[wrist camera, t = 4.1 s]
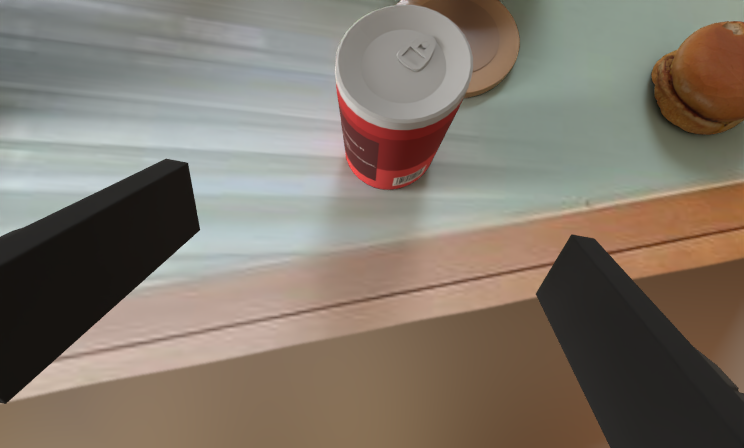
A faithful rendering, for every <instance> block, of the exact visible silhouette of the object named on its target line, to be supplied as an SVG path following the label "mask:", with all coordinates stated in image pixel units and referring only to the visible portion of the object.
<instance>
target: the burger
mask: <svg viewBox="0 0 744 448" xmlns="http://www.w3.org/2000/svg"><path fill="white" fill-rule="evenodd" d="M651 75H652V81H653V83H654V84H655V88H654V89H655V99H656V100H657V104H658V106H659V107H660V109H661V113H662V115H663V116H664V117H665V118H666V119H667V120H669V121H670V122H672V123H673V124H674V125H676V126H678V127H680V128H681V129H683V130H685V131H687V132H690V133H695V134H707V135H710V134H717V133H721V132H724V131H727V130H729V129H731V128H733V127H735V126H736V125H738V124H739V123H741V122H742V121H743V120H744V23H743V22H738V21H733V22H729V21H727V22H720V23H714V24H711V25H708V26H706V27H703V28H700V29H699V30H697V31H696V32H694V33H693V34H692V35H690V36H689V37H688V38H687V39H686V40H685V41H684V42H683V43H682V44H681V46H680V47H679V49H678V50H675V51H673V52H671V53H669V54H667V55H665V56H663V57H662V58H661V59H660V60H659V61H657V63H656V64H655V66H654V68H653V71H652V74H651Z"/></svg>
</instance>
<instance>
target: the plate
mask: <svg viewBox="0 0 744 448" xmlns="http://www.w3.org/2000/svg"><path fill="white" fill-rule="evenodd" d="M396 5H416V6H421V7H426V8H429V9H431V10H434V11H437V12H439V13H440V14H442V15H444V16H446V17H447V18H449V19H450V20H451V21H452V22H453V23H455V24H456V25H457V26H458V27H459V29H460V30H461V31H462V32H463V34H464V35H465V37H466V39H467V41H468V43H469V45H470V48H471V52H472V55H473V72H472V77H471V81H470V83H469V87H468V89H467V92H466V94H465V96H464V98H469V97H473V96H477V95H480V94H483V93H485V92H487V91H489V90H491V89H493V88H494V87H495V86H497V85H498V84H499V83H500V82H501V81H502V80H503V79H504V78H505V77H506V76H507V74H508V73H509V72H510V70H511V69H512V67H513V65H514V63H515V61H516V59H517V56H518V52H519V32H518V29H517V25H516V23H515V21H514V19H513V17H512V15H511V14H510V12H509V11H508V10H507V8H506V7H505V6H504V5H503V4H502V3H501V2H500V1H499V0H400V1H399V2H398V3H397V4H396Z"/></svg>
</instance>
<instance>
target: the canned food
mask: <svg viewBox="0 0 744 448" xmlns="http://www.w3.org/2000/svg"><path fill="white" fill-rule="evenodd" d="M472 72H473V55H472V52H471V48H470V45H469V43H468V41H467V39H466V37H465V35H464V34H463V32H462V31H461V30H460V29H459V27H458V26H457V25H456V24H455V23H453V22H452V21H451V20H450V19H449V18H447V17H446V16H444V15H442V14H440V13H439V12H437V11H434V10H431V9H429V8H426V7H421V6H416V5H393V6H387V7H383V8H380V9H377V10H374V11H372V12H370V13H368V14H366V15H364V16H363V17H361V18H360V19H359V20H357V21H356V22H355V23H354V24H353V25H352V26H351V27H350V28H349V29H348V30H347V31H346V33H345V34H344V36H343V38H342V39H341V41H340V43H339V46H338V49H337V52H336V60H335V78H336V88H337V95H338V102H339V109H340V116H341V124H342V131H343V138H344V145H345V152H346V158H347V161H348V164H349V166H350V168H351V169H352V171H353V173H354V174H355V175H356V176H357V177H358V178H359V179H360V180H362V181H363V182H365V183H366V184H368V185H370V186H372V187H375V188H378V189H383V190H392V189H398V188H402V187H404V186H407V185H409V184H411V183H413V182H414V181H416V180H418V179H419V178H420V177H421V176H422V175H423V174H424V173H425V171H426V170H427V169H428V167H429V165H430V163H431V161H432V160H433V158H434V156H435V154H436V152H437V150H438V148H439V146H440V144H441V142H442V140H443V138H444V136H445V134H446V132H447V130H448V128H449V126H450V125H451V123H452V121H453V119H454V117H455V115H456V113H457V111H458V109H459V107H460V104H461V102H462V100H463V98H464V96H465V94H466V92H467V89H468V87H469V83H470V81H471V77H472Z"/></svg>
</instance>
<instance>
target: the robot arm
mask: <svg viewBox="0 0 744 448" xmlns="http://www.w3.org/2000/svg"><path fill="white" fill-rule="evenodd" d="M199 230H200V227H199V221H198V216H197V210H196V205H195V199H194V194H193V188H192V183H191V177H190V172H189V166H188V163H186V162H180V161H175V160H170V159H165V160H163V161H161V162H158V163H156V164H154V165H152V166H150V167H148V168H146V169H144V170H142V171H140V172H138V173H136V174H134V175H132V176H130V177H127V178H125V179H123V180H121V181H119V182H117V183H115V184H113V185H111V186H109V187H107V188H105V189H103V190H101V191H98V192H96V193H94V194H92V195H90V196H88V197H86V198H84V199H82V200H80V201H78V202H76V203H74V204H72V205H69V206H67V207H65V208H63V209H61V210H59V211H57V212H55V213H53V214H51V215H49V216H47V217H45V218H43V219H40V220H38V221H36V222H34V223H32V224H30V225H28V226H26V227H24V228H21V229H17V230H14V231H12V232H9V233H7V234H5V235H3V236H1V237H0V403H4V404H6V403H7V402H8V401H9V400H11V399H12V398H13V397H14V396H15V395H16V394H17V393H18V392H19V391H21V390H22V389H23V388H24V387H25V386H26V385H27V384H28V383H30V382H31V381H32V380H33V379H34V378H35V377H36V376H37V375H38V374H40V373H41V372H42V371H43V370H44V369H45V368H46V367H47V366H49V365H50V364H51V363H52V362H53V361H54V360H55V359H56V358H57V357H59V356H60V355H61V354H62V353H63V352H64V351H65V350H66V349H68V348H69V347H70V346H71V345H72V344H73V343H74V342H75V341H76V340H78V339H79V338H80V337H81V336H82V335H83V334H84V333H85V332H87V331H88V330H89V329H90V328H91V327H92V326H93V325H94V324H95V323H97V322H98V321H99V320H100V319H101V318H102V317H103V316H104V315H106V314H107V313H108V312H109V311H110V310H111V309H112V308H113V307H114V306H116V305H117V304H118V303H119V302H120V301H121V300H122V299H123V298H125V297H126V296H127V295H128V294H129V293H130V292H131V291H132V290H133V289H135V288H136V287H137V286H138V285H139V284H140V283H141V282H142V281H143V280H145V279H146V278H147V277H148V276H149V275H150V274H151V273H152V272H154V271H155V270H156V269H157V268H158V267H159V266H160V265H161V264H162V263H164V262H165V261H166V260H167V259H168V258H169V257H170V256H171V255H173V254H174V253H175V252H176V251H177V250H178V249H179V248H180V247H181V246H183V245H184V244H185V243H186V242H187V241H188V240H189V239H190V238H192V237H193V236H194V235H195V234H196V233H197V232H198V231H199ZM536 295H537V297H538V299H539V302H540V304H541V306H542V308H543V310H544V312H545V314H546V316H547V318H548V320H549V322H550V324H551V326H552V328H553V330H554V332H555V335H556V337H557V339H558V341H559V343H560V344H561V347H562V349H563V351H564V353H565V355H566V357H567V359H568V361H569V363H570V365H571V367H572V370H573V372H574V374H575V376H576V378H577V380H578V382H579V384H580V386H581V388H582V390H583V392H584V394H585V396H586V398H587V400H588V402H589V405H590V407H591V409H592V410H593V413H594V415H595V417H596V419H597V421H598V423H599V425H600V427H601V429H602V431H603V433H604V435H605V437H606V440H607V442H608V444H609V446H610V448H744V394H743V393H740V392H739V391H738V387H737V386H736V385H735V384H734V383H733V382H732V381H731V380H730V379H729V378H728V376H727V375H726V374H725V373H724V372H723V371H722V370H721V369H720V368H719V367H718V366H717V365H716V364H715V363H713V362H712V361H711V360H710V359H708V358H707V357H706V356H705V355H703V354H702V353H701V352H699V351H698V350H697V349H695V348H694V347H693V346H692V345H691V344H690V343H689V341H688V340H687V339H686V338H685V337H684V336H683V335H682V334H681V333H680V332H679V331H678V330H677V328H676V327H675V326H674V325H673V324H672V323H671V322H670V321H669V320H668V319H667V318H666V316H665V315H664V314H663V313H662V312H661V311H660V310H659V309H658V308H657V306H656V305H655V304H654V303H653V302H652V301H651V300H650V299H649V298H648V297H647V296H646V294H644V292H643V291H642V290H641V289H640V288H639V287H638V286H637V285H636V284H635V283H634V281H633V280H632V279H631V278H630V277H629V276H628V275H627V274H626V273H625V272H624V270H623V269H622V268H621V267H620V266H619V265H618V264H617V263H616V262H615V261H614V259H613V258H612V257H611V256H610V255H609V254H608V253H607V252H606V251H605V250H604V249H603V247H602V246H601V245H600V244H599V243H598V242H597V241H596V240H595V239H593V238H588V237H583V236H577V235H571V236H570V238H569V239H568V241H567V243H566V244H565V246H564V248H563V249H562V251H561V253H560V254H559V256H558V258H557V259H556V261H555V263H554V264H553V266H552V268H551V269H550V271H549V273H548V274H547V276H546V278H545V279H544V281H543V283H542V284H541V286H540V288H539V289H538V291H537V293H536Z"/></svg>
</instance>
